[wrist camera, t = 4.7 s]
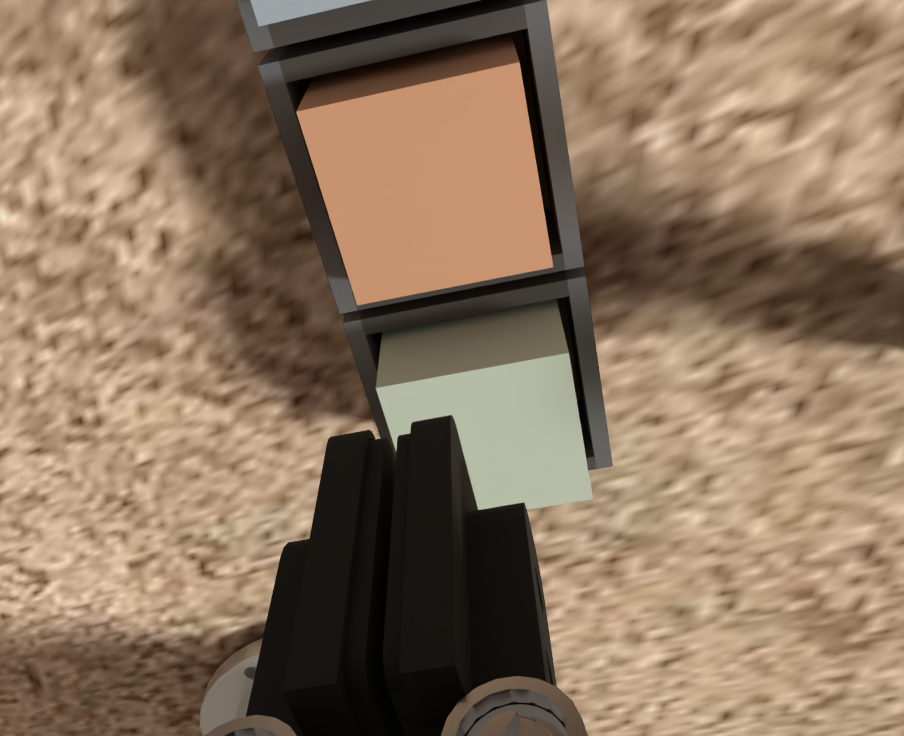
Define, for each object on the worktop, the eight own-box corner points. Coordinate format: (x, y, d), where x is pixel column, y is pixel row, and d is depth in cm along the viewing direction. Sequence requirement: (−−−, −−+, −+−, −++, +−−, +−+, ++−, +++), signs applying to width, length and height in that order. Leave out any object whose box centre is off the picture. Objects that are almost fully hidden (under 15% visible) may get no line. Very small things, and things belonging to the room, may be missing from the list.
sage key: (574, 414, 27) (592, 499, 24) (423, 441, 28) (420, 527, 24) (551, 279, 25) (568, 352, 21) (384, 311, 25) (375, 388, 22)
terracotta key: (538, 204, 24) (553, 267, 21) (368, 238, 25) (357, 305, 21) (507, 22, 22) (519, 62, 18) (318, 66, 22) (296, 112, 19)
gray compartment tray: (596, 406, 30) (616, 481, 26) (408, 439, 31) (405, 516, 27) (456, -547, 17) (458, -636, 14) (135, -450, 18) (63, -512, 14)
